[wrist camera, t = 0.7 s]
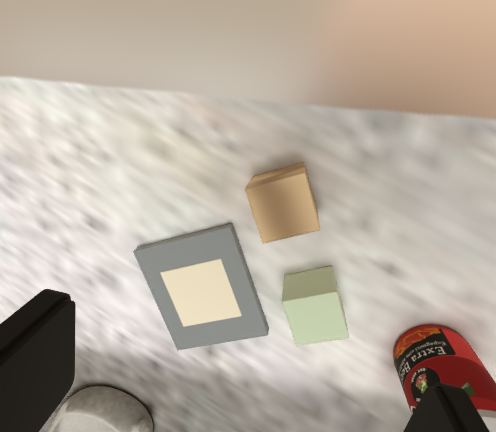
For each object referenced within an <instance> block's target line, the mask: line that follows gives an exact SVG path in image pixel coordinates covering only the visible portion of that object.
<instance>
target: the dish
mask: <svg viewBox="0 0 496 432" xmlns="http://www.w3.org/2000/svg"><path fill="white" fill-rule="evenodd" d="M47 432H153V423H152V419H151V417H150V415H149V413H148V411H147V410H146V408H145V407H144V406H143V405H142V404H141V403H140V402H139V401H138V400H136V399H135V398H133V397H132V396H130V395H128V394H126V393H125V392H122V391H120V390H118V389H114V388H111V387H105V386H94V387H88V388H85V389H83V390H80V391H78V392H77V393H75V394H74V395H73V396H71V397H70V398H69V399H68V400H67V401H66V402H65V403H64V404H63V405H62V407H61V408H60V410H59V411H58V413H57V414H56V416H55V418H54V419H53V421H52V423H51V425H50V427H49V429H48V430H47Z"/></svg>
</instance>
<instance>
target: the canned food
mask: <svg viewBox="0 0 496 432" xmlns="http://www.w3.org/2000/svg"><path fill="white" fill-rule="evenodd" d="M394 363H395V367H396V370H397V373H398V376H399V378H400V381H401V384H402V387H403V390H404V393H405V396H406V399H407V402H408V405H409V408H410V411H411V414H413V412H414V410H415V408H416V406H417V404H418V403H419V401H420V399H421V397H422V395H423V393H424V391H425V389H426V388H427V387H428V386H433V384H434V383H436V382H441V383H445V384H449V385H453V386H458V387H461V388H463V389H464V390H465V391H466V393H467V394H468V396H469V397H470V399H471V401H472V402H473V404H474V406H475V408H476V409H477V411H478V413H479V414H480V416H481V418H482V419H483V421H484V423H485V424H486V426H487V428H488V429H489V431H490V432H496V383H495V381H494V380H493V379H492V377H491V376H490V374H489V373H488V371H487V370H486V368H485V367H484V365H483V364H482V362H481V361H480V359H479V358H478V357H477V355H476V354H475V352H474V351H473V349H472V348H471V346H470V345H469V343H468V342H467V341H466V340H465V339H464V338H463V337H461V336H460V335H458V334H457V333H456V332H454V331H453V330H450V329H448V328H446V327H442V326H437V325H424V326H420V327H416V328H414V329H411V330H409V331H408V332H406V333H405V334H404V335H403V336H402V337H401V338H400V339H399V340H398V342H397V344H396V346H395V351H394Z"/></svg>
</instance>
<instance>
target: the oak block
mask: <svg viewBox="0 0 496 432" xmlns="http://www.w3.org/2000/svg"><path fill="white" fill-rule="evenodd" d="M245 191H246V194H247V197H248V200H249V203H250V206H251V209H252V212H253V215H254V218H255V221H256V225H257V228H258V231H259V234H260V237H261V240H262V243H268V242H272V241H276V240H280V239H285V238H289V237H293V236H297V235H302V234H306V233H310V232H314V231H319V230H320V226H319V219H318V212H317V208H316V204H315V200H314V197H313V193H312V189H311V185H310V182H309V178H308V174H307V171H306V167H305V163H304V162H302V163H298V164H295V165H291V166H288V167H284V168H281V169H277V170H274V171H270V172H267V173H263V174H260V175H256V176H253V177H252V179H251V181H250V182H249V184H248V186H247V187H246V189H245Z"/></svg>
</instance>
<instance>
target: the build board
mask: <svg viewBox="0 0 496 432" xmlns="http://www.w3.org/2000/svg"><path fill="white" fill-rule="evenodd" d="M133 252H134V254H135V257H136V259H137V261H138V263H139V266H140V268H141V270H142V272H143V274H144V277H145V279H146V281H147V283H148V286H149V288H150V290H151V292H152V294H153V297H154V299H155V301H156V303H157V306H158V308H159V310H160V312H161V315H162V317H163V319H164V321H165V323H166V326H167V328H168V330H169V332H170V335H171V337H172V339H173V341H174V343H175V346H176V348H177V350H182V349H188V348H194V347H200V346H206V345H212V344H218V343H224V342H230V341H236V340H242V339H248V338H254V337H260V336H266V335H268V330H269V327H268V324H267V322H266V319H265V316H264V313H263V310H262V307H261V304H260V302H259V299H258V296H257V293H256V290H255V287H254V284H253V281H252V279H251V276H250V273H249V270H248V267H247V264H246V261H245V258H244V256H243V253H242V250H241V247H240V244H239V241H238V238H237V236H236V233H235V230H234V227H233V224H232V223H230V224H226V225H222V226H219V227H215V228H211V229H207V230H203V231H199V232H195V233H191V234H187V235H183V236H179V237H175V238H171V239H167V240H163V241H160V242H156V243H152V244H148V245H144V246H140V247H138V248H137V249H136V250H134V251H133Z"/></svg>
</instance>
